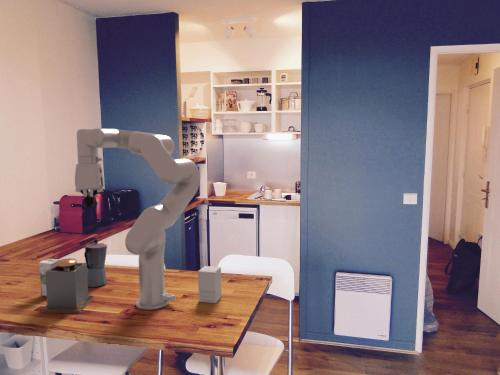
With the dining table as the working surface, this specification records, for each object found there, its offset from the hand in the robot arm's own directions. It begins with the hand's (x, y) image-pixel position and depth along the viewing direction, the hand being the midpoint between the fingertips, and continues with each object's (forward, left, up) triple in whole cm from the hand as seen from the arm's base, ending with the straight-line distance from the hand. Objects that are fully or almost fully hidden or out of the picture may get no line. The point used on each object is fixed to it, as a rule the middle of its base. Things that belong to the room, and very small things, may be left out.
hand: (90, 206), depth 168 cm
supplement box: (-48, +3, -37) cm, 61 cm away
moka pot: (+4, -13, -37) cm, 40 cm away
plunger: (+6, +10, -34) cm, 36 cm away
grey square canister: (+6, +10, -37) cm, 39 cm away
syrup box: (+18, -1, -37) cm, 41 cm away
